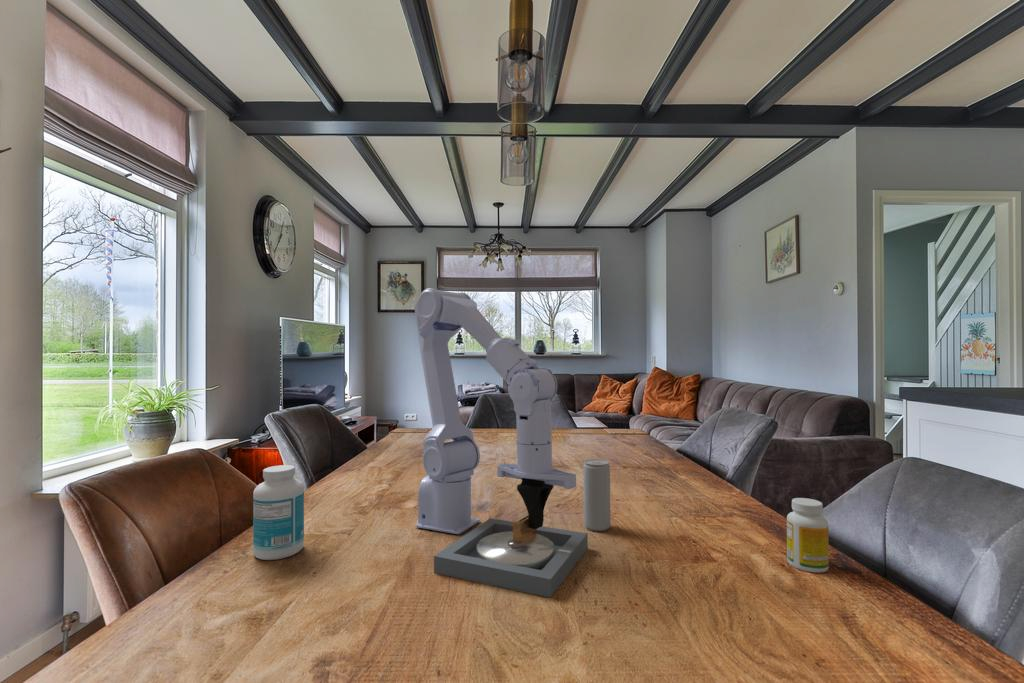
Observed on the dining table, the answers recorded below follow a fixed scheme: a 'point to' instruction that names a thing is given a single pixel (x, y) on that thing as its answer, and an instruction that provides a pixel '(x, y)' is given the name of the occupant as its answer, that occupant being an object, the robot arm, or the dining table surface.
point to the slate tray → (539, 581)
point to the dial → (517, 546)
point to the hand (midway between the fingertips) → (535, 527)
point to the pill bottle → (278, 514)
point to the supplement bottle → (807, 536)
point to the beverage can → (596, 494)
